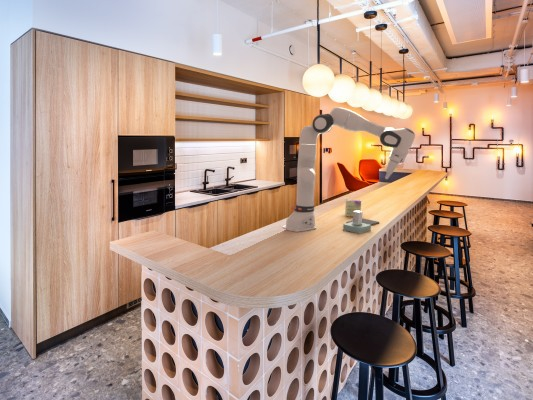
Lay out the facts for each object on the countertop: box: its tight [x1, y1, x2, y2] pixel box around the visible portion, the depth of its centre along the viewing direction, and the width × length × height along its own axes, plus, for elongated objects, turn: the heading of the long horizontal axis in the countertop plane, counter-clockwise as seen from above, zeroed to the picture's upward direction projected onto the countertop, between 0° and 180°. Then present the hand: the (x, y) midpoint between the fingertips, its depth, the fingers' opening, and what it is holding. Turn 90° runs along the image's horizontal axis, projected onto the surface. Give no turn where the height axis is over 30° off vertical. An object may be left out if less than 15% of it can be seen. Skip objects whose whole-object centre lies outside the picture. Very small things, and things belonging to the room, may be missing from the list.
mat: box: [345, 217, 380, 227], centre depth 223 cm, size 18×14×1 cm
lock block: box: [342, 222, 372, 235], centre depth 206 cm, size 12×12×4 cm
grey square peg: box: [352, 210, 363, 226], centre depth 206 cm, size 4×4×12 cm
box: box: [344, 198, 362, 217], centre depth 244 cm, size 10×6×12 cm, turn 84°
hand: (387, 177), depth 199 cm, fingers open, 8 cm apart
